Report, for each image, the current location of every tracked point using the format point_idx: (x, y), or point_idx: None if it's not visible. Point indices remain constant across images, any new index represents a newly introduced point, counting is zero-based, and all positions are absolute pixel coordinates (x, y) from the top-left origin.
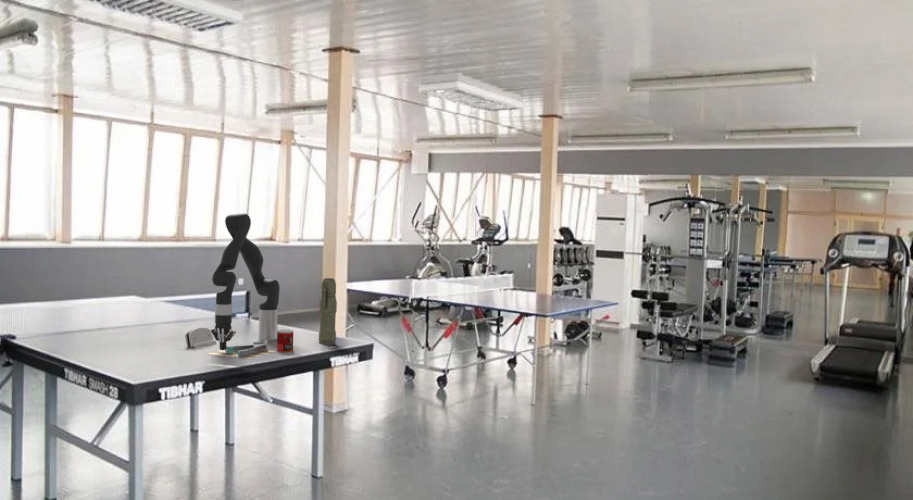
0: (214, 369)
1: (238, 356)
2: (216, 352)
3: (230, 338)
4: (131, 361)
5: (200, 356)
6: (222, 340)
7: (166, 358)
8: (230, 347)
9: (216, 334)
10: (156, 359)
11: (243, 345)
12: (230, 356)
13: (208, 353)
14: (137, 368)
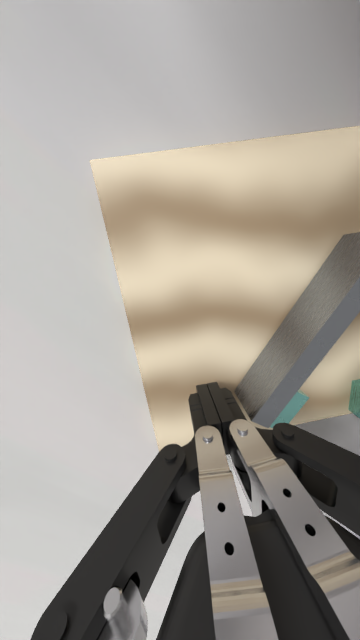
0: (352, 531)
1: (356, 411)
2: (171, 402)
3: (318, 448)
4: (30, 626)
5: (137, 455)
6: (243, 473)
7: (66, 550)
8: (293, 412)
9: (156, 552)
10: (57, 575)
11: (343, 312)
12: (308, 421)
13: (159, 442)
14: (148, 637)
